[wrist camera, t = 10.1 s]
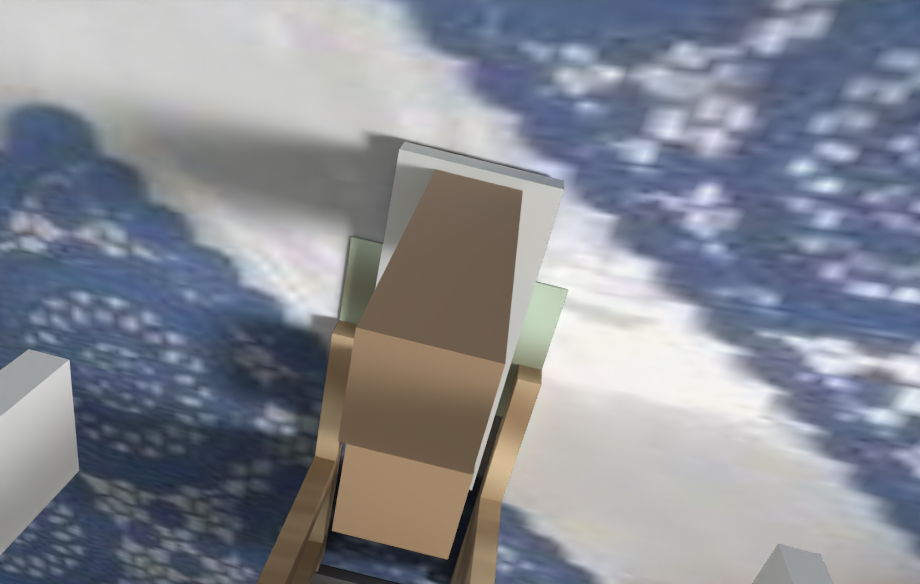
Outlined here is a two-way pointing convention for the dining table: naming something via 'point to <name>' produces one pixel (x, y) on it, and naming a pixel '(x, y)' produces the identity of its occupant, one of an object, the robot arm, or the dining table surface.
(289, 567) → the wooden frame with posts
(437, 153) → the post and table model
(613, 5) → the dining table surface
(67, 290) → the dining table surface
